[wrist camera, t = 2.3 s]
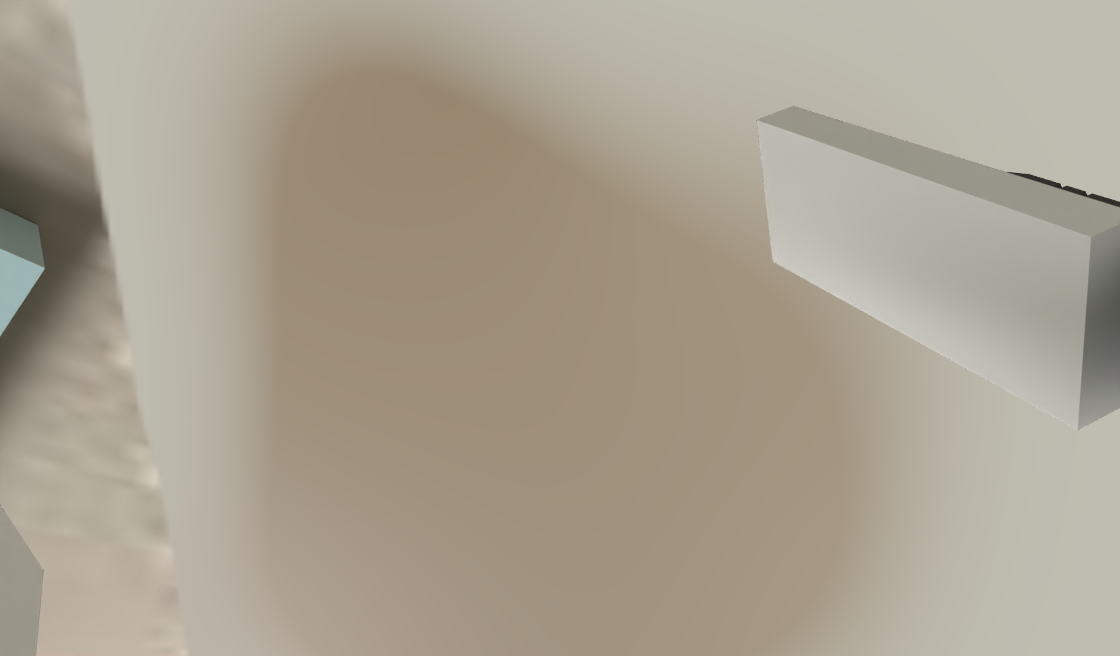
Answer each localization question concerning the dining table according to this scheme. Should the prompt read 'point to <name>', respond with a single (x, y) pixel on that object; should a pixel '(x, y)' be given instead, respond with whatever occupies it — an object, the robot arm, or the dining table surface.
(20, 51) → the dining table surface
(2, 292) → the parts bin
